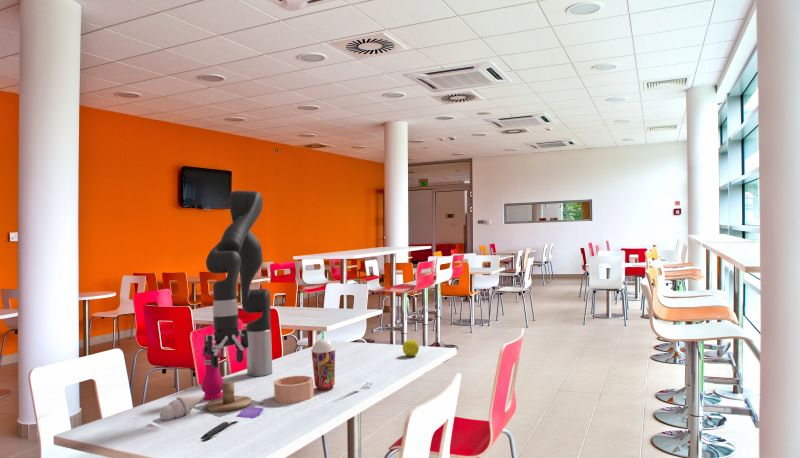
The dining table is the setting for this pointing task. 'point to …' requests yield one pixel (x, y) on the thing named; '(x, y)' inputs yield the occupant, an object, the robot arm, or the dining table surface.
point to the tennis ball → (410, 348)
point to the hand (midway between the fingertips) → (227, 364)
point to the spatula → (246, 413)
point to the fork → (353, 391)
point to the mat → (219, 414)
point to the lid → (228, 400)
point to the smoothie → (324, 364)
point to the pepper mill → (212, 379)
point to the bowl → (293, 389)
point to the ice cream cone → (179, 407)
